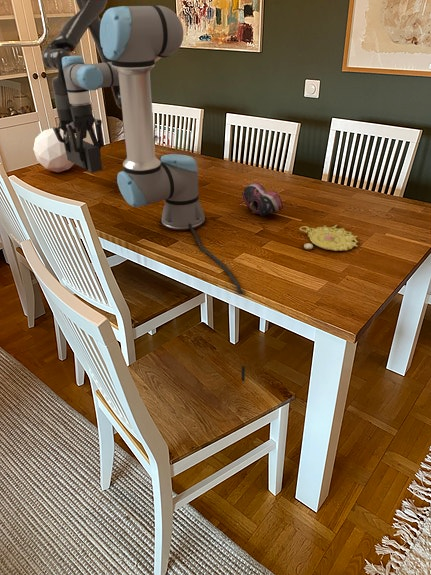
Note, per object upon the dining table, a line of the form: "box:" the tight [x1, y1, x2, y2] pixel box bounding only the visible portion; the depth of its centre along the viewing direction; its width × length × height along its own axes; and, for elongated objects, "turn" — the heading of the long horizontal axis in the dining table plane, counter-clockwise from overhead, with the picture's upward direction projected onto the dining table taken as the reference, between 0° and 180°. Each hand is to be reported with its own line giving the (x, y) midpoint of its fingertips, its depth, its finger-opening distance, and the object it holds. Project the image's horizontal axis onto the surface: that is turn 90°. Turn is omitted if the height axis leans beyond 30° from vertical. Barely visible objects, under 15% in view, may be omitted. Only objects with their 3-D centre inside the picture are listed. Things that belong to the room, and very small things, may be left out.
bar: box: [66, 136, 104, 174], centre depth 176 cm, size 23×5×9 cm, turn 39°
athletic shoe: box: [238, 182, 284, 217], centre depth 160 cm, size 11×22×12 cm
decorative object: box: [299, 224, 359, 252], centre depth 141 cm, size 21×2×20 cm
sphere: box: [32, 127, 75, 173], centre depth 205 cm, size 19×20×20 cm
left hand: (74, 150), depth 181 cm, fingers closed on bar, 4 cm apart
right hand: (91, 167), depth 173 cm, fingers closed on bar, 5 cm apart
